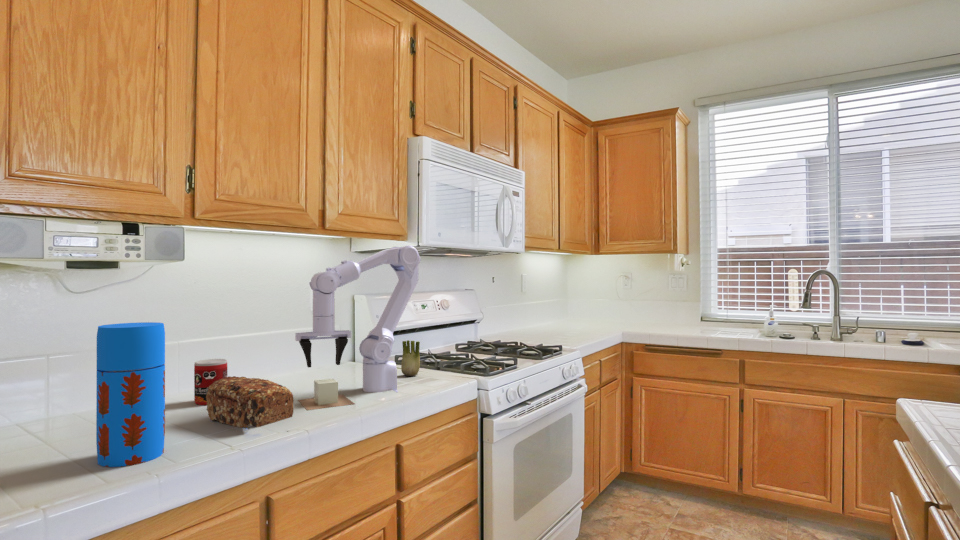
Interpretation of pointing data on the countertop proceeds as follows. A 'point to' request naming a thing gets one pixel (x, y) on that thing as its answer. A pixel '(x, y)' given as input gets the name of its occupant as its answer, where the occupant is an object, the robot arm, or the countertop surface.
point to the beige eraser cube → (325, 391)
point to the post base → (311, 404)
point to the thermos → (130, 393)
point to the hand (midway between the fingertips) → (323, 365)
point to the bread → (248, 402)
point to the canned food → (207, 377)
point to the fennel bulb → (410, 358)
